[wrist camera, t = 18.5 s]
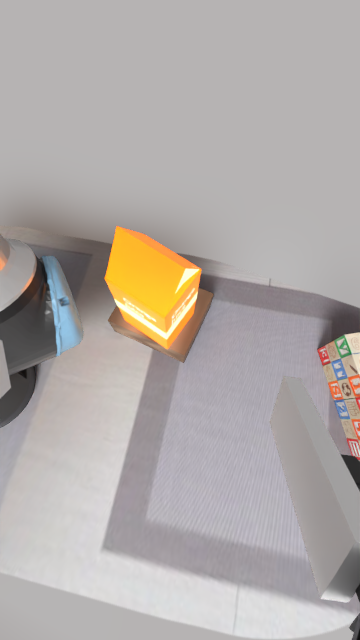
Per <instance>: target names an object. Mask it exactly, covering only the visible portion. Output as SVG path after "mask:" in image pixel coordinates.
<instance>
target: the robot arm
mask: <svg viewBox="0 0 360 640" xmlns="http://www.w3.org/2000/svg"><path fill="white" fill-rule="evenodd" d="M83 335H84V331H83V326H82V323H81V319H80V316H79V313H78V310H77V307H76V304H75V301H74V299H73V296H72V293H71V290H70V288H69V285H68V283H67V280H66V278H65V275H64V273H63V270H62V268H61V266H60V264H59V262H58V260H57V259H56V258H55V257H54V256H42V257H41V258H40V259H38V258H37V256H36V255H35V254H34V252H33V251H32V250H31V248H30V247H29V246H28V245H26V244H25V243H23V242H21V241H18V240H14V239H7V238H4V237H3V236H2V235H1V234H0V428H1V427H3V426H5V425H6V424H8V423H10V422H11V421H12V420H13V419H15V418H16V417H17V416H18V415H19V414H20V413H21V412H22V410H23V409H24V408H25V406H26V405H27V403H28V402H29V400H30V398H31V395H32V393H33V390H34V385H35V369H34V365H36V364H39V363H41V362H43V361H46V360H48V359H51V358H53V357H57V356H59V355H61V353H62V352H64V351H66V350H68V349H70V348H72V347H74V346H76V345H78V344H79V343H80V342H81V341H82V339H83ZM270 425H271V429H272V432H273V436H274V439H275V443H276V446H277V450H278V453H279V457H280V460H281V463H282V467H283V470H284V474H285V477H286V481H287V484H288V488H289V491H290V495H291V498H292V502H293V505H294V509H295V512H296V516H297V519H298V523H299V526H300V530H301V533H302V537H303V540H304V544H305V547H306V551H307V554H308V558H309V561H310V565H311V568H312V572H313V575H314V579H315V582H316V586H317V589H318V593H319V596H320V599H326V600H333V601H339V602H346V603H348V602H349V601H350V599H351V598H352V597H353V595H354V594H355V592H356V594H357V596H358V599H359V601H360V461H359V460H358V459H357V458H356V457H355V456H349V455H341V454H340V453H339V451H338V449H337V447H336V445H335V443H334V441H333V439H332V437H331V435H330V434H329V432H328V430H327V428H326V426H325V424H324V422H323V420H322V418H321V416H320V414H319V412H318V411H317V409H316V407H315V405H314V403H313V401H312V399H311V397H310V395H309V393H308V391H307V390H306V388H305V386H304V384H303V382H302V380H301V378H293V377H286V376H284V377H283V380H282V383H281V387H280V390H279V393H278V396H277V400H276V403H275V406H274V409H273V413H272V416H271V419H270ZM350 629H351V630H352V631H353V632H354V635H353V638H352V640H360V613H359V615H358V616H357V617H356V619H355V620H354V621H353V623H352V624H351V626H350Z"/></svg>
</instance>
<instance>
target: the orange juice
mask: <svg viewBox="0 0 360 640" xmlns="http://www.w3.org/2000/svg"><path fill="white" fill-rule="evenodd" d="M200 275H201V268H199V267H197V266H196V265H194V264H192V263H191V262H189V261H187V260H186V259H184V258H182V257H181V256H179V255H178V254H176V253H174V252H173V251H171V250H169V249H168V248H166V247H164V246H163V245H161V244H159V243H158V242H156V241H155V240H153V239H151V238H150V237H148V236H146V235H145V234H142V233H138V232H135V231H132V230H128V229H125V228H122V227H118V226H117V227H116V232H115V236H114V241H113V245H112V250H111V254H110V259H109V263H108V268H107V272H106V276H105V277H104V278H105V280H106V282H107V284H108V287H109V289H110V291H111V293H112V295H113V297H114V300H115V302H116V304H117V306H118V307H119V309H120V311H121V313H122V315H123V317H124V320H125V321H127V322H128V323H130V324H131V325H133V326H134V327H136V328H137V329H138V330H140V331H141V332H143V333H144V334H146V335H147V336H149V337H150V338H152V339H153V340H154V341H156V342H157V343H159V344H160V345H162V346H163V347H165V348H166V349H168V348H169V347H170V345H171V344H172V342H173V341H174V340H175V338H176V337H177V336H178V334H179V333H180V332H181V330H182V329H183V327H184V326H185V325H186V323H187V322H188V321H189V319H190V318H191V316H192V315H193V313H194V308H195V302H196V299H197V294H198V286H199V281H200Z"/></svg>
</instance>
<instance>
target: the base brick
mask: <svg viewBox="0 0 360 640" xmlns="http://www.w3.org/2000/svg"><path fill="white" fill-rule="evenodd" d="M213 295H214V294H213V293H211V292H208V291H206V290H204V289H201V288H199V287H198V294H197V299H196V302H195V308H194V313H193V315H192V316H191V318H190V319H189V321H188V322H187V323H186V325H185V326H184V327H183V329H182V330H181V332H180V333H179V334H178V336H177V337H176V338H175V340H174V341H173V342H172V344H171V345H170V347H169V348H168V349H166V348H165V347H163V346H162V345H160V344H159V343H157V342H156V341H154V340H153V339H152V338H150V337H149V336H147V335H146V334H144V333H143V332H141V331H140V330H138V329H137V328H136V327H134V326H133V325H131V324H130V323H128V322H127V321H125V320H124V317H123V315H122V313H121V311H120V309H119V307H118V306H116V308H115V309H114V311H113V313H112V314H111V316H110V318H109V319H108V321H109V323H110V324H111V326H112V327H113V329H114V330H115V331H116V332H118V333H121V334H123V335H125V336H127V337H129V338H131V339H133V340H136V341H138V342H140V343H142V344H144V345H146V346H149V347H151V348H153V349H155V350H157V351H159V352H161V353H164V354H166V355H168V356H170V357H172V358H174V359H177V360H179V361H181V362H183V363H184V361H185V359H186V357H187V355H188V353H189V351H190V349H191V346H192V344H193V342H194V340H195V338H196V336H197V334H198V331H199V329H200V327H201V325H202V323H203V321H204V319H205V316H206V314H207V312H208V310H209V308H210V305H211V302H212V298H213Z"/></svg>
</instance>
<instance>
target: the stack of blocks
mask: <svg viewBox="0 0 360 640" xmlns="http://www.w3.org/2000/svg"><path fill="white" fill-rule="evenodd" d="M317 350H318V353H319V356H320V359H321V362H322V365H323V369H324V373H325V375H326V378H327V381H328V384H329V388H330V391H331V394H332V397H333V400H334V401H335V405H336V408H337V411H338V414H339V417H340V419H341V422H342V425H343V428H344V431H345V434H346V437H347V442H348V445H349V448H350V451H351V454H352V456H355V457H356V458H357V459H358V460H359V461H360V332H359V333H353V334H346V335H343V336H341V337H339V338H337V339H335V340H334V341H332V342H330V343H328V344H326V345H325V346H323V347H321V348H319V349H317Z"/></svg>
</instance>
